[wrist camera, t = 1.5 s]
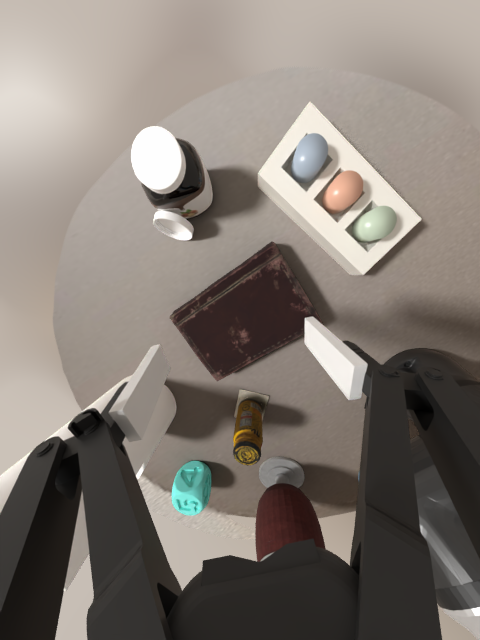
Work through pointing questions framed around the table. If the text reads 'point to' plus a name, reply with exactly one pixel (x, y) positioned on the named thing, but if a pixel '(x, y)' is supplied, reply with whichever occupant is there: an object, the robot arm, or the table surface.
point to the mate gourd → (284, 508)
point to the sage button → (374, 224)
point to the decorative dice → (191, 488)
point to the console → (307, 197)
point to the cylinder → (136, 452)
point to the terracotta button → (342, 192)
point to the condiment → (249, 426)
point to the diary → (245, 313)
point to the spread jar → (171, 180)
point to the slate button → (309, 157)
